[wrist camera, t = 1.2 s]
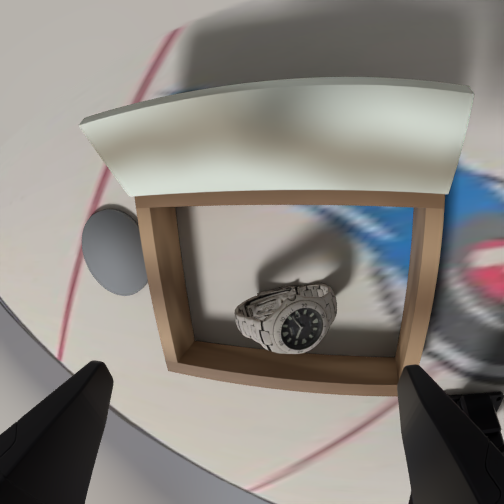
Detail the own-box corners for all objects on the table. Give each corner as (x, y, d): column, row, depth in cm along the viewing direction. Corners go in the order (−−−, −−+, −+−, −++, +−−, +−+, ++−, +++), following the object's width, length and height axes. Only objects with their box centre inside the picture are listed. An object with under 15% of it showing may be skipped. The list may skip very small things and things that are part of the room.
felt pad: (159, 297, 24) (156, 299, 24) (94, 289, 26) (91, 291, 26) (144, 207, 22) (141, 208, 21) (78, 211, 24) (75, 212, 23)
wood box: (405, 368, 20) (415, 444, 14) (185, 349, 25) (140, 406, 19) (428, 104, 15) (473, 84, 8) (154, 119, 20) (78, 118, 13)
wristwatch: (341, 312, 20) (337, 358, 16) (253, 323, 22) (229, 366, 18) (332, 262, 19) (326, 299, 15) (239, 278, 22) (210, 314, 17)
